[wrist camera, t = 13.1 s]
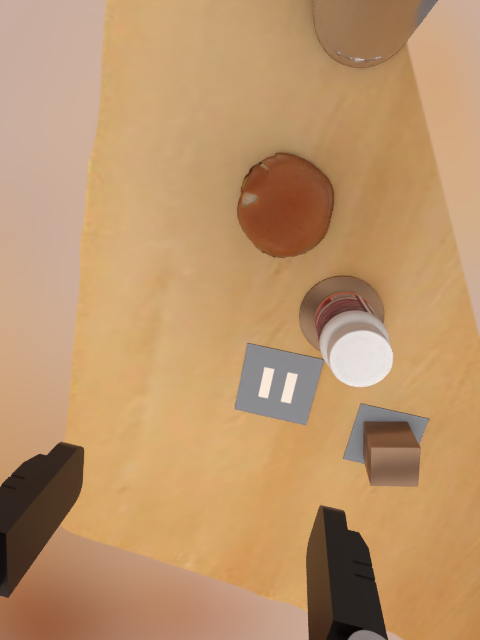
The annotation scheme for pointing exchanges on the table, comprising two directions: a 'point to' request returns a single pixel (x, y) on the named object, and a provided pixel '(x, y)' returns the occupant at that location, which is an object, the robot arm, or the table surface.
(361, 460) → the code tile
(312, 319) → the coaster
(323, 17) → the robot arm
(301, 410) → the code tile
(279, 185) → the burger
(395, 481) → the walnut block
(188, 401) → the table surface
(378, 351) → the pill bottle
